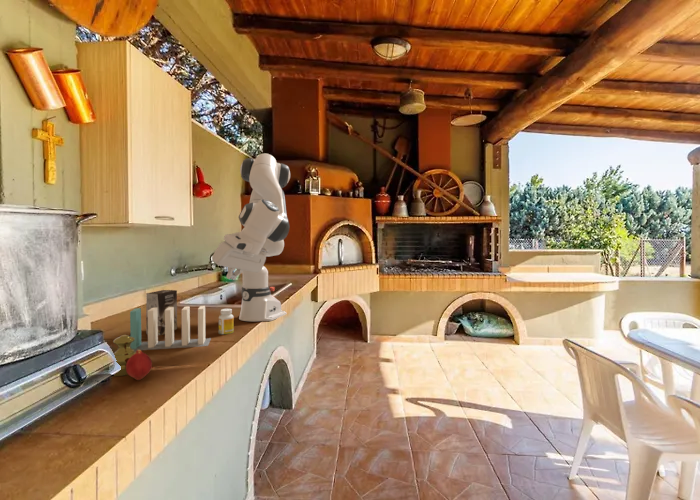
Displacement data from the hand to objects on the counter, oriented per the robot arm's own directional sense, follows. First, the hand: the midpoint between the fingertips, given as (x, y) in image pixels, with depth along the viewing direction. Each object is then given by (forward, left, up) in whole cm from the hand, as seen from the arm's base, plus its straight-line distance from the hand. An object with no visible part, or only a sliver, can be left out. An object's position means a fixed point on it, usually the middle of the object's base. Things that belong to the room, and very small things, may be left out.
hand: (230, 278), depth 124 cm
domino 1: (+22, -20, -22) cm, 36 cm away
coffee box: (+7, -30, -23) cm, 38 cm away
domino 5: (+7, -6, -22) cm, 23 cm away
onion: (+35, +5, -23) cm, 42 cm away
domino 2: (+18, -16, -22) cm, 32 cm away
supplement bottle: (-5, -9, -23) cm, 25 cm away
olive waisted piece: (+34, -4, -23) cm, 41 cm away
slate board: (+15, -13, -23) cm, 30 cm away
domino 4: (+11, -9, -22) cm, 26 cm away
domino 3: (+15, -13, -22) cm, 29 cm away
